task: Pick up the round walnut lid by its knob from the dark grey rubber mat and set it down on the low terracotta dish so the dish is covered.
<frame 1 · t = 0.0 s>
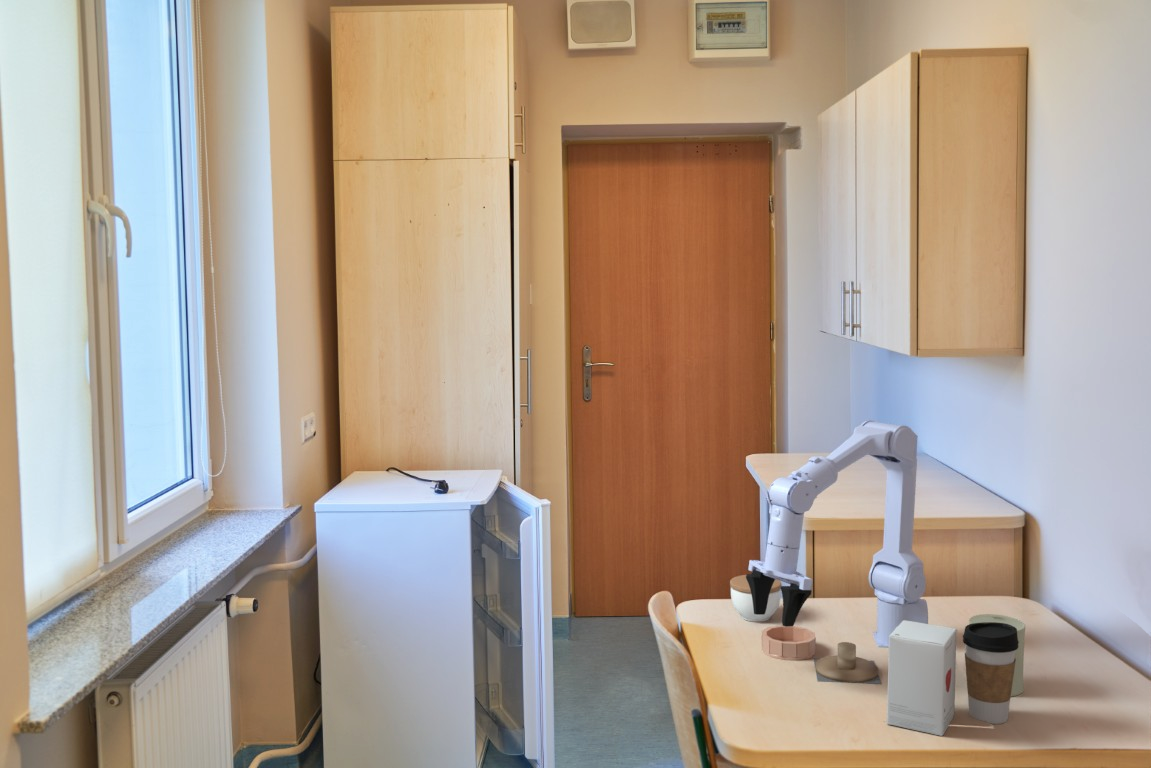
hand: (773, 620, 186), 11 cm above the table, tool pointing down, fingers open, 7 cm apart
lid: (846, 670, 188), resting on mat
dish: (788, 652, 198), on the table
lidded jar: (755, 618, 219), on the table
mat: (846, 672, 188), on the table
can: (995, 687, 181), on the table
coffee cup: (988, 717, 169), on the table
supplement box: (921, 721, 168), on the table
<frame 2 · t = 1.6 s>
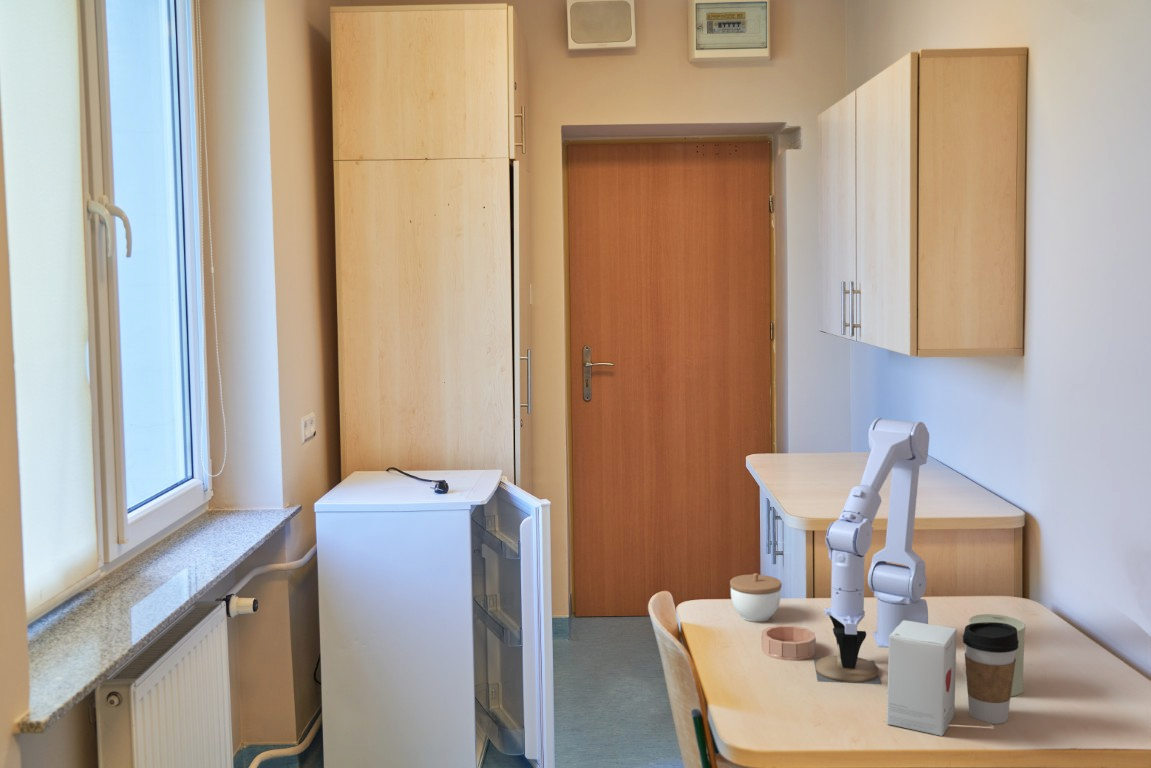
hand: (846, 659, 188), 2 cm above the table, tool pointing down, fingers open, 7 cm apart
nothing on the table moved.
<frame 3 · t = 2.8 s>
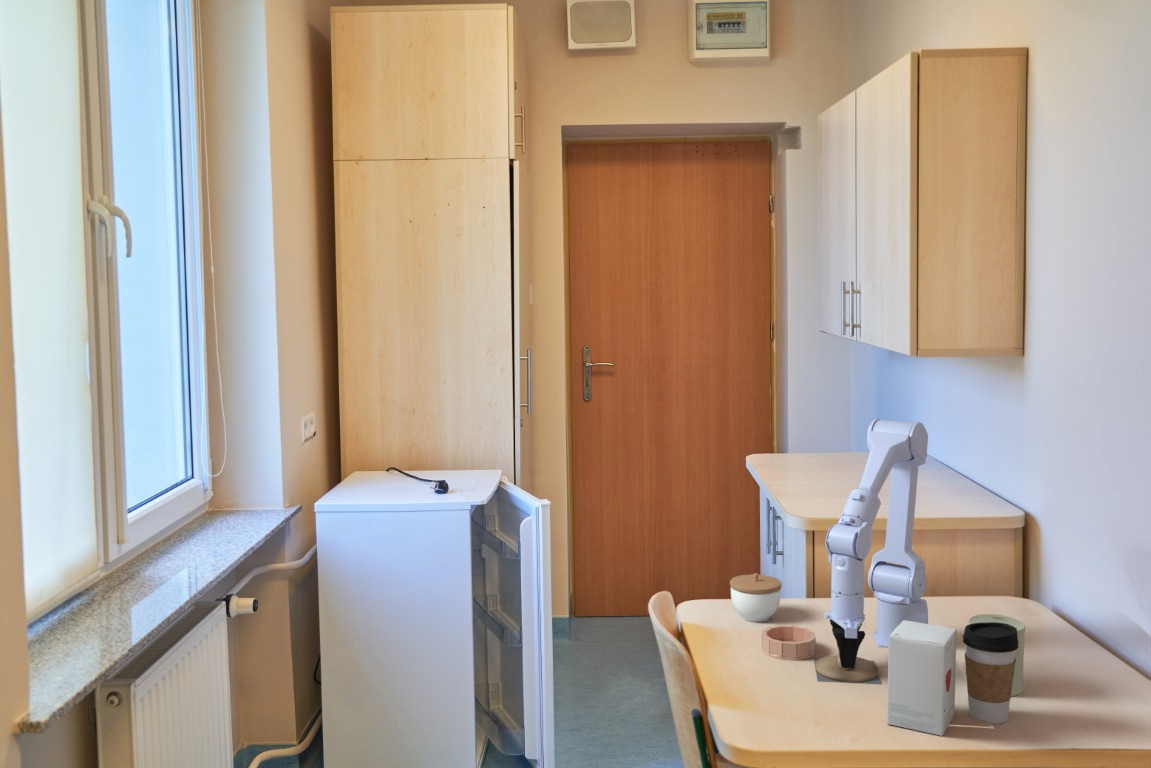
hand: (846, 663, 188), 2 cm above the table, tool pointing down, fingers closed on lid, 3 cm apart
lid: (846, 670, 188), resting on mat, touching gripper
everything else where it was.
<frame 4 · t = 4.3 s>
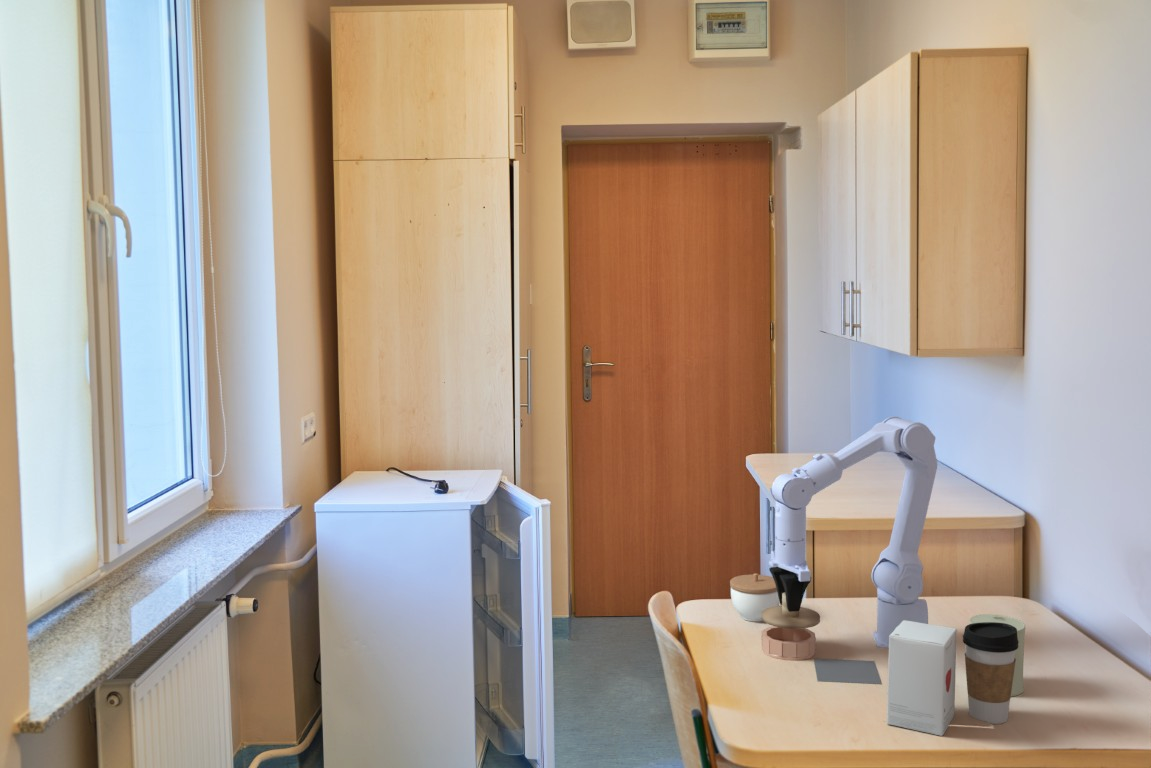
hand: (789, 607, 197), 9 cm above the table, tool pointing down, fingers closed on lid, 3 cm apart
lid: (790, 618, 197), point 7 cm above the table, touching gripper
everything else where it was.
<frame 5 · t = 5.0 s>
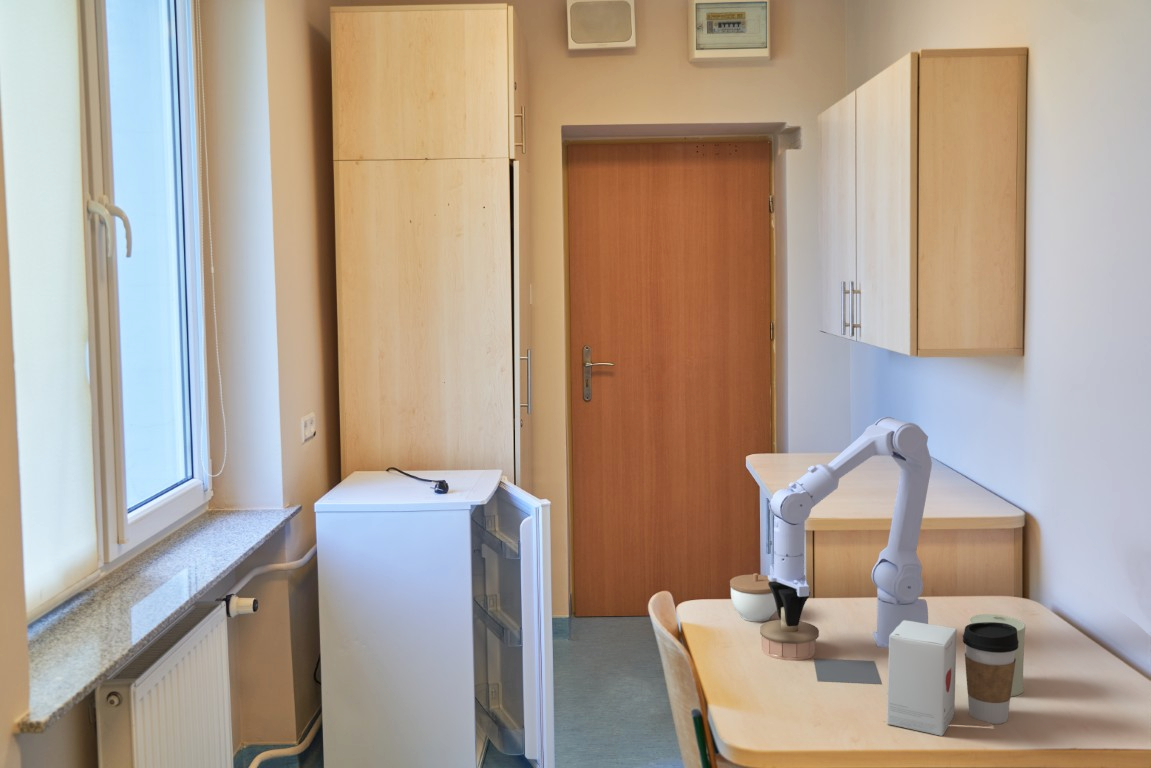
hand: (788, 622, 198), 6 cm above the table, tool pointing down, fingers closed on lid, 3 cm apart
lid: (789, 633, 198), point 4 cm above the table, touching gripper
everything else where it was.
when the fingers open (6 cm above the table, at t = 5.6 s): lid stays where it is, resting on dish.
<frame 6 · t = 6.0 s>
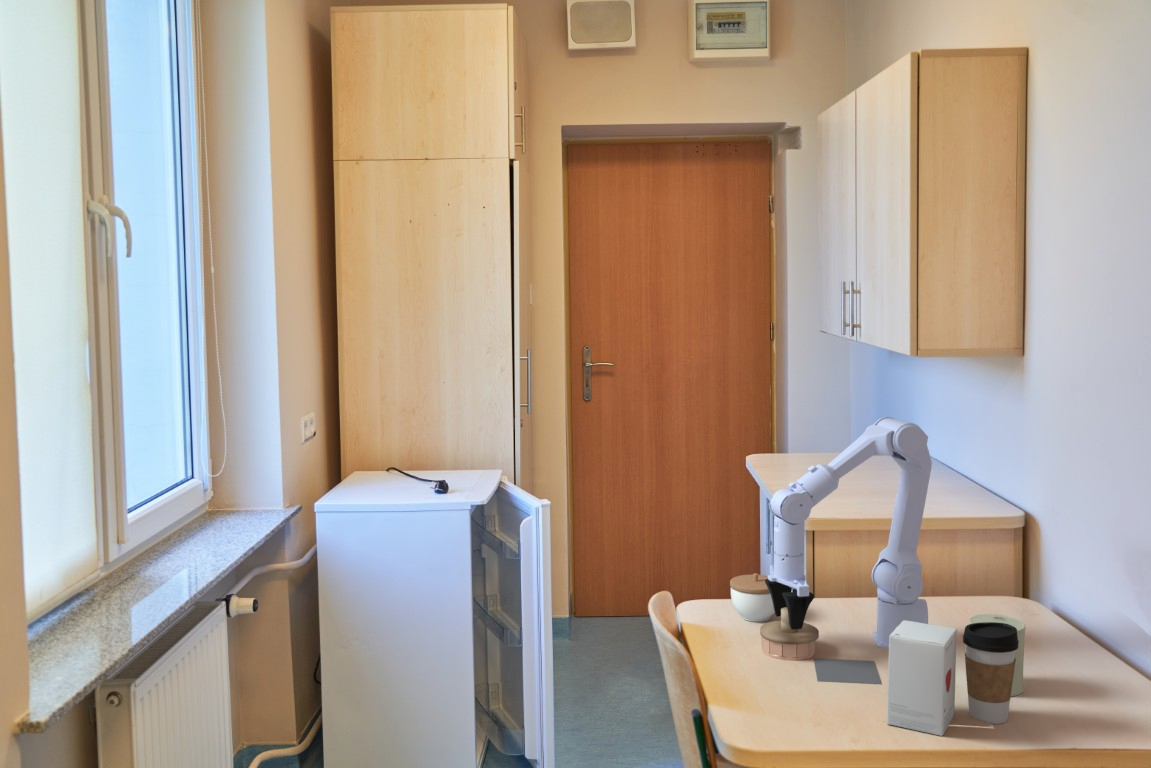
hand: (788, 622, 198), 6 cm above the table, tool pointing down, fingers open, 7 cm apart
lid: (789, 634, 198), point 4 cm above the table, touching dish
everything else where it was.
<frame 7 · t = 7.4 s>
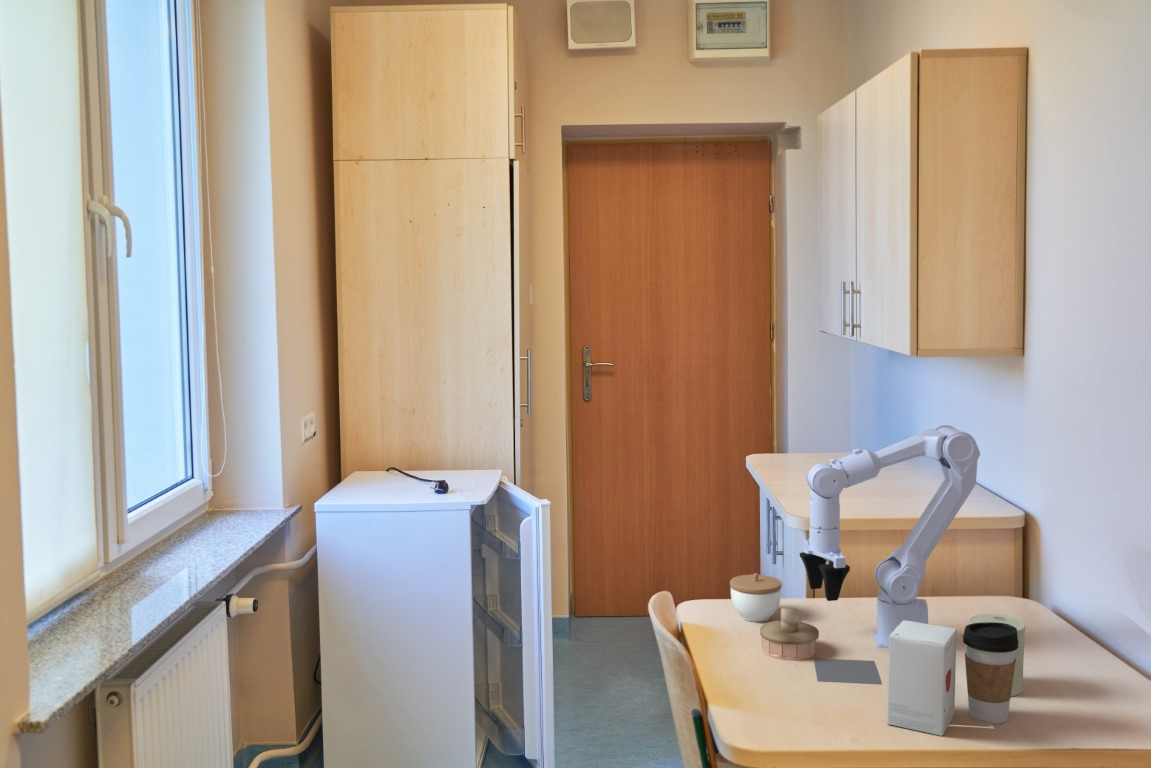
hand: (823, 594, 202), 10 cm above the table, tool pointing down, fingers open, 7 cm apart
nothing on the table moved.
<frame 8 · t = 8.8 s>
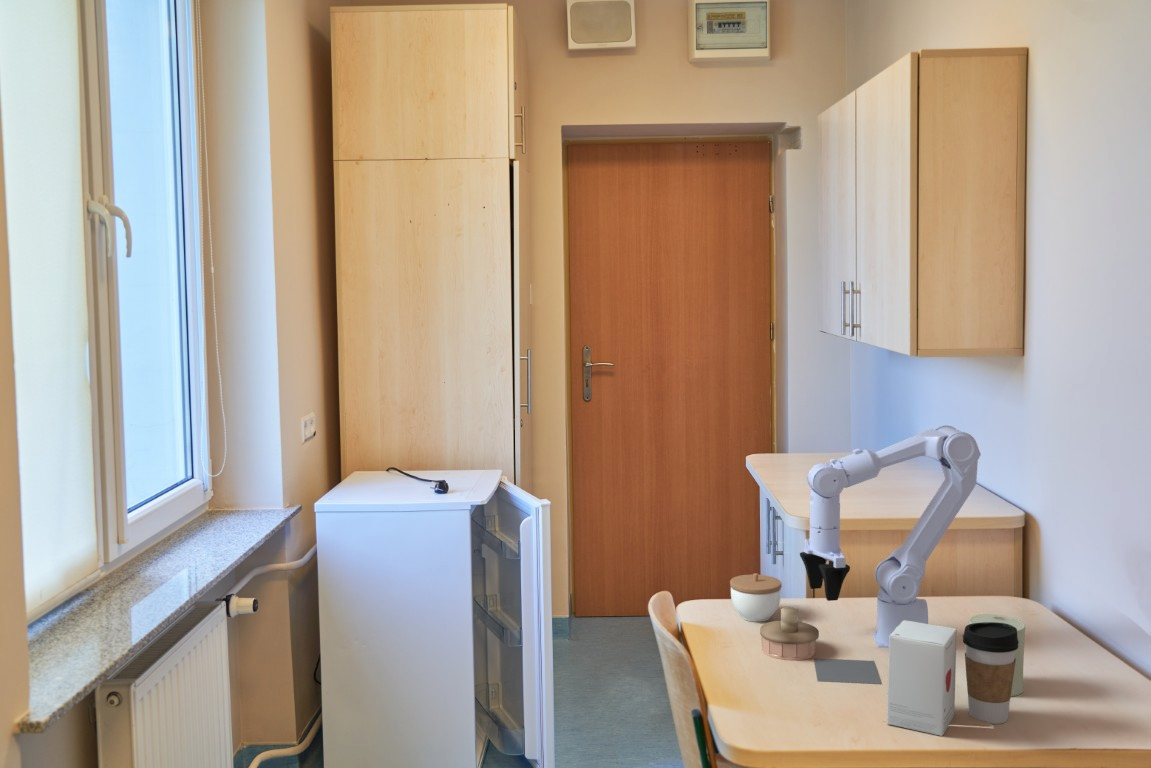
hand: (823, 594, 202), 10 cm above the table, tool pointing down, fingers open, 7 cm apart
nothing on the table moved.
at the end: lid 0.2 cm off-centre on the dish, point 3.6 cm above the dish's base; lid tilted 0°; the gripper is holding nothing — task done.
